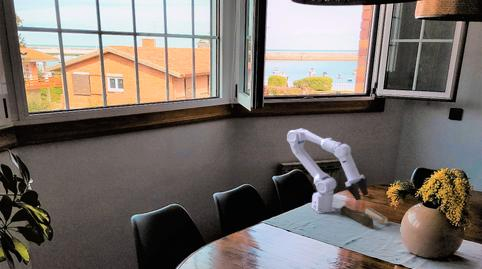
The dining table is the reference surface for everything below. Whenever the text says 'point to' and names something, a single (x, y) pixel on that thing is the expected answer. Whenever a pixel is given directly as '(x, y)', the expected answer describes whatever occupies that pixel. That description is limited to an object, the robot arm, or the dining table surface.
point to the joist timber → (376, 216)
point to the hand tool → (358, 217)
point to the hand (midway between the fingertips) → (362, 197)
